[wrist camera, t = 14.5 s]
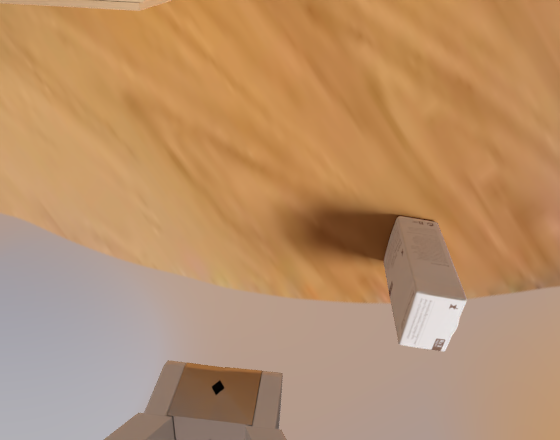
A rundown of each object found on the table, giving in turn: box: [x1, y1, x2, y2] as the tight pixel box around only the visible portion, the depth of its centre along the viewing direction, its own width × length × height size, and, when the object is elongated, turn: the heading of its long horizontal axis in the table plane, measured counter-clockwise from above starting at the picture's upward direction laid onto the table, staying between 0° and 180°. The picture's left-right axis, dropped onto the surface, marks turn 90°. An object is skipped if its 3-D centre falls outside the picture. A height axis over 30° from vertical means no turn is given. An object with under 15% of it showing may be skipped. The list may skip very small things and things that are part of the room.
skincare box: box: [384, 216, 467, 351], centre depth 44 cm, size 6×4×12 cm
